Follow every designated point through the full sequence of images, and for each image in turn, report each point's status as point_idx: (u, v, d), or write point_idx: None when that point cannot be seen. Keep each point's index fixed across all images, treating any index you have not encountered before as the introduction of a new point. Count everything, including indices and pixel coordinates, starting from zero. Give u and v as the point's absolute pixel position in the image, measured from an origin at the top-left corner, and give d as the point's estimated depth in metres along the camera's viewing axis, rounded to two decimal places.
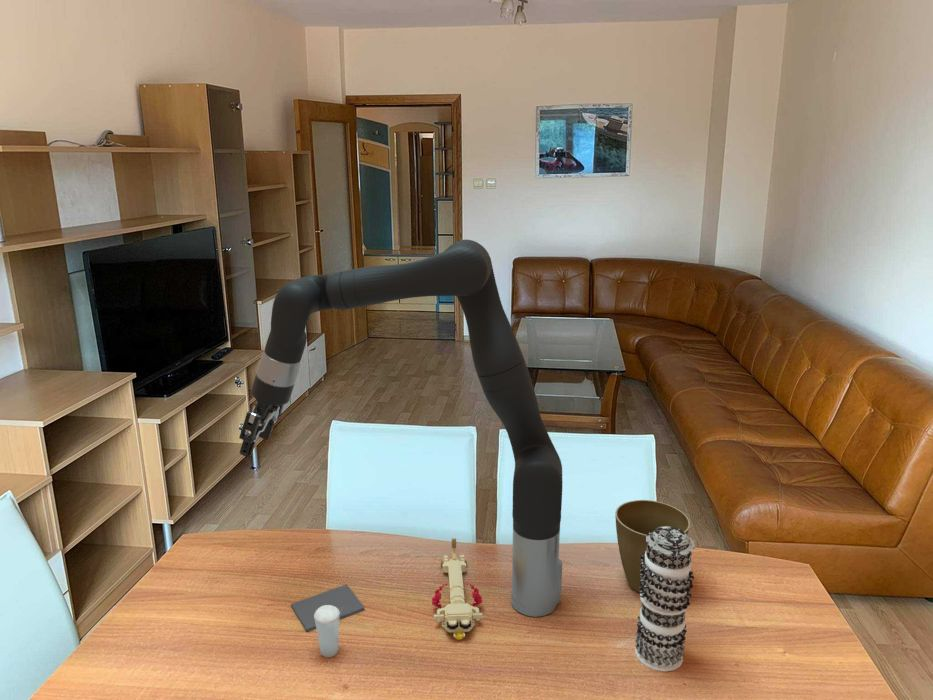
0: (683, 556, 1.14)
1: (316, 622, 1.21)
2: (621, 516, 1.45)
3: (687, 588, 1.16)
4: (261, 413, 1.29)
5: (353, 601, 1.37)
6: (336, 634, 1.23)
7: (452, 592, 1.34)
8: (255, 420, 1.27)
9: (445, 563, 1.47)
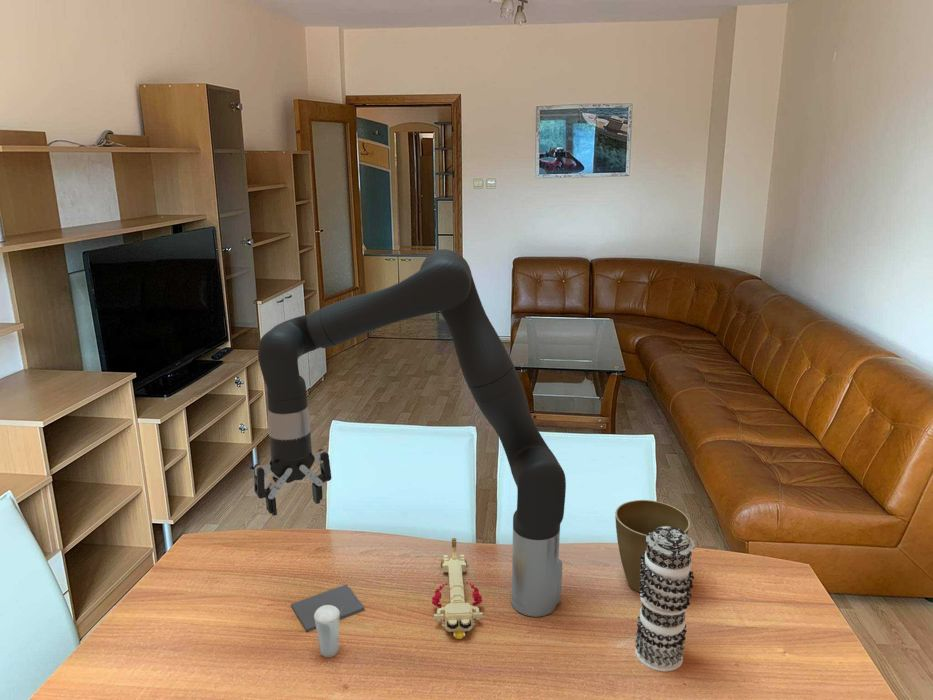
0: (683, 556, 1.14)
1: (316, 622, 1.21)
2: (621, 516, 1.45)
3: (687, 588, 1.16)
4: (271, 468, 1.25)
5: (353, 601, 1.37)
6: (336, 634, 1.23)
7: (452, 591, 1.34)
8: (256, 473, 1.24)
9: (445, 562, 1.47)
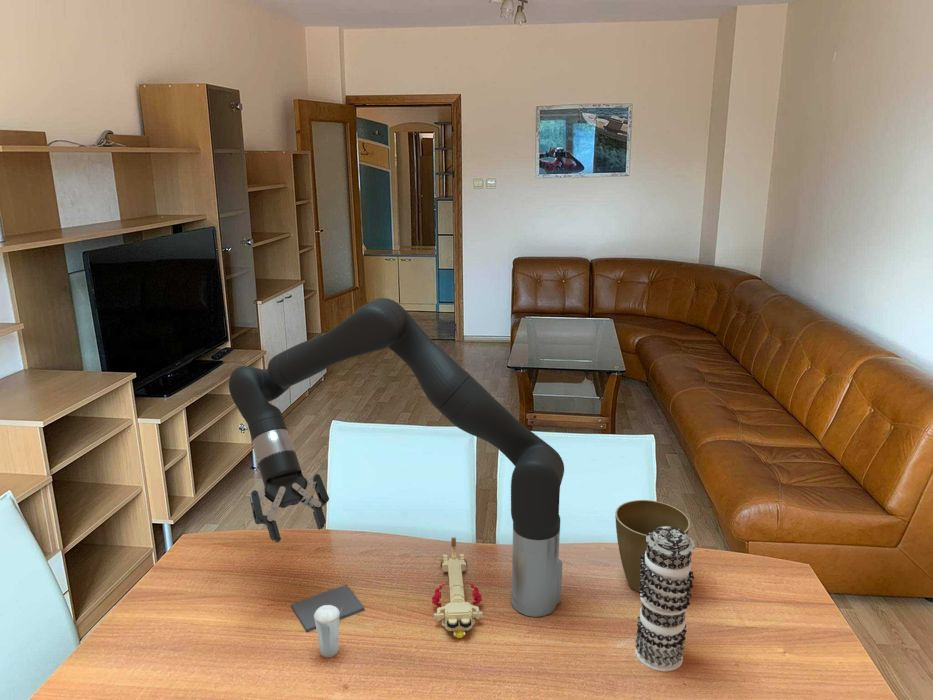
0: (683, 556, 1.14)
1: (316, 622, 1.21)
2: (621, 516, 1.45)
3: (687, 588, 1.16)
4: (265, 491, 1.30)
5: (353, 601, 1.37)
6: (336, 634, 1.23)
7: (452, 591, 1.35)
8: (251, 496, 1.28)
9: (445, 562, 1.47)
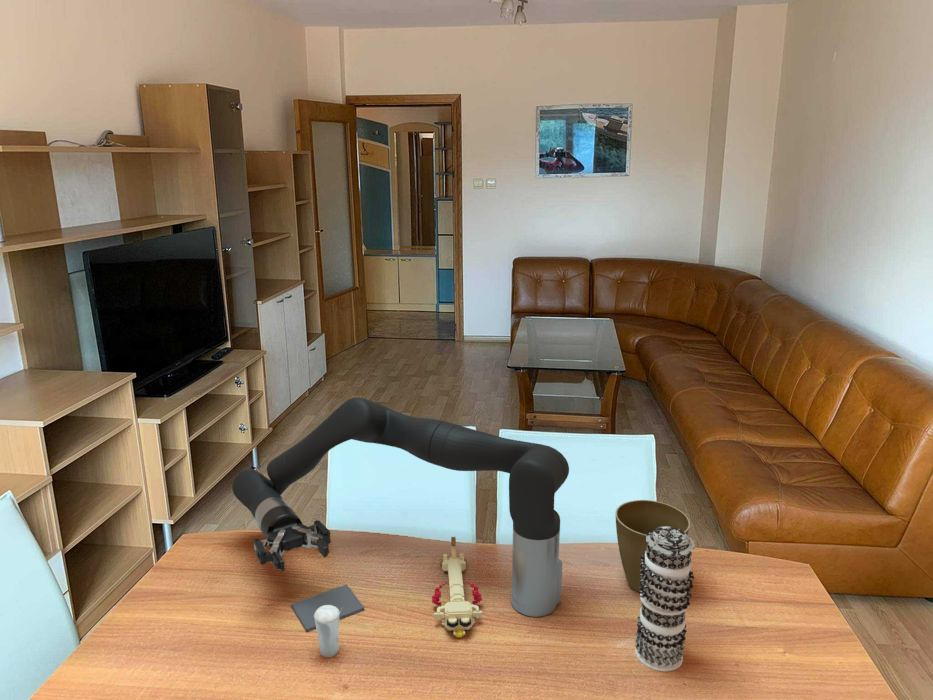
0: (683, 556, 1.14)
1: (316, 622, 1.21)
2: (621, 516, 1.45)
3: (687, 588, 1.16)
4: (267, 539, 1.35)
5: (353, 601, 1.37)
6: (336, 634, 1.23)
7: (452, 590, 1.35)
8: (254, 543, 1.33)
9: (445, 561, 1.48)
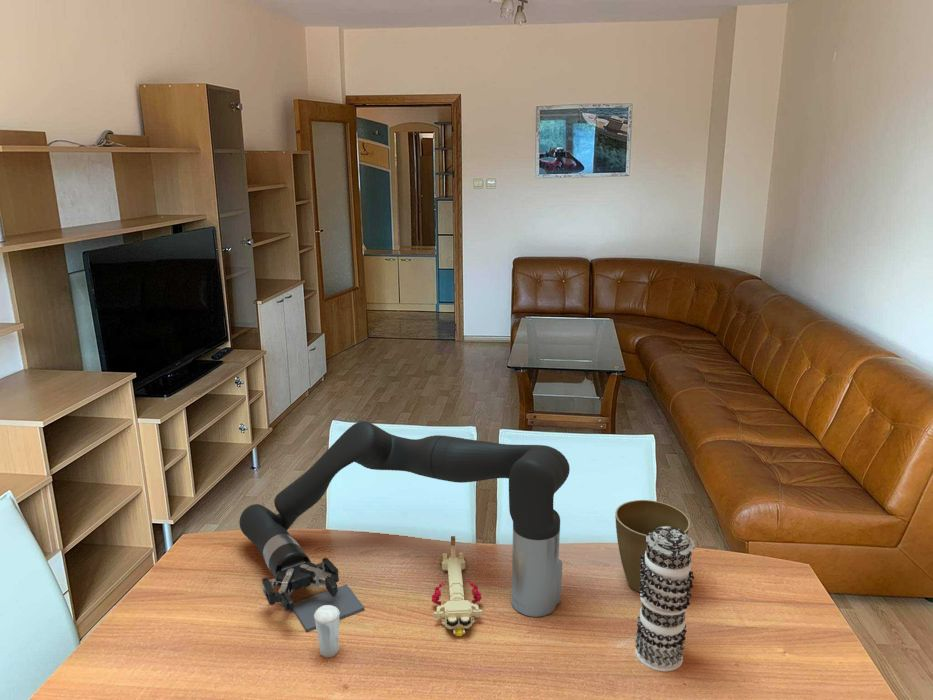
0: (683, 556, 1.14)
1: (316, 622, 1.21)
2: (621, 516, 1.45)
3: (687, 588, 1.16)
4: (275, 578, 1.35)
5: (353, 601, 1.37)
6: (336, 634, 1.23)
7: (452, 589, 1.35)
8: (262, 583, 1.33)
9: (444, 561, 1.48)
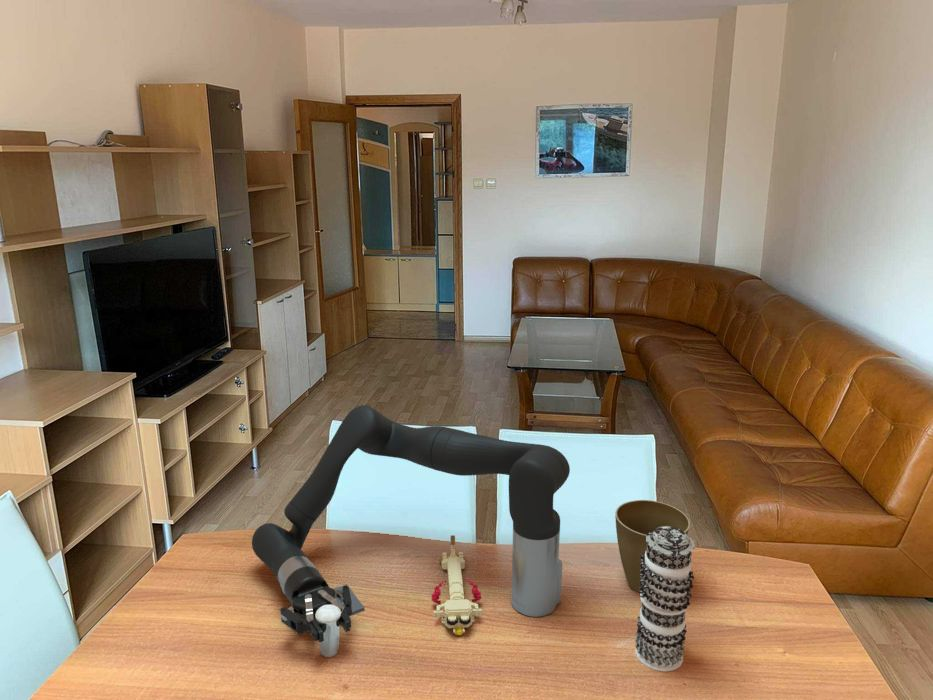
0: (683, 556, 1.14)
1: (317, 621, 1.21)
2: (621, 516, 1.45)
3: (687, 588, 1.16)
4: (292, 606, 1.27)
5: (353, 601, 1.37)
6: (337, 634, 1.23)
7: (451, 588, 1.35)
8: (282, 613, 1.24)
9: (444, 560, 1.48)
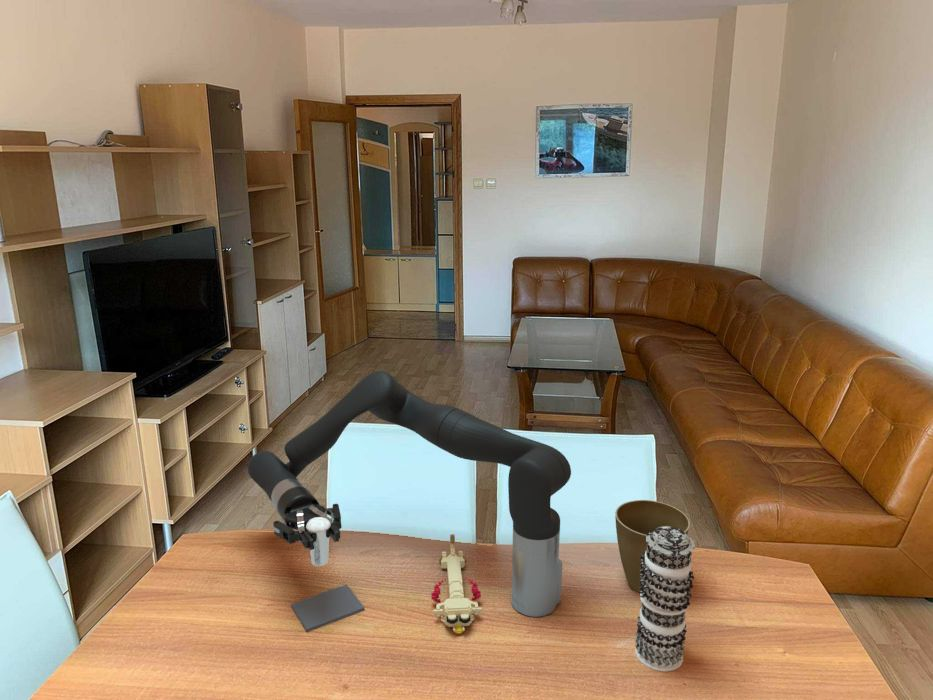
0: (683, 556, 1.14)
1: (308, 531, 1.28)
2: (621, 516, 1.45)
3: (687, 588, 1.16)
4: (285, 520, 1.34)
5: (353, 601, 1.37)
6: (326, 544, 1.30)
7: (451, 587, 1.36)
8: (275, 526, 1.31)
9: (444, 559, 1.49)
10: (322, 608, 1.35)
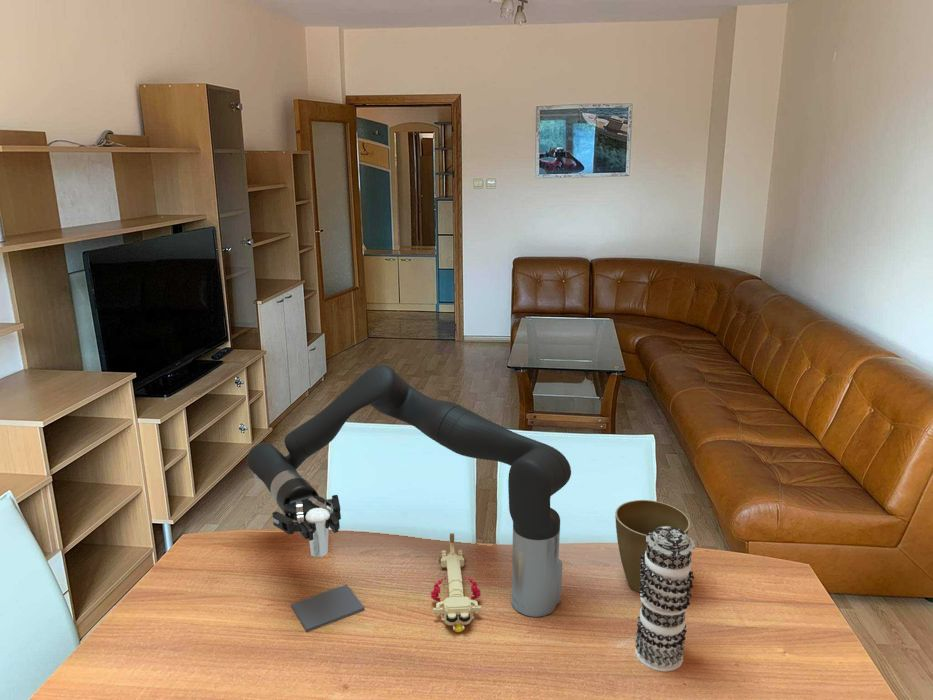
0: (683, 556, 1.14)
1: (307, 522, 1.28)
2: (621, 516, 1.45)
3: (687, 588, 1.16)
4: (284, 511, 1.33)
5: (353, 601, 1.37)
6: (326, 535, 1.29)
7: (451, 586, 1.36)
8: (274, 517, 1.31)
9: (443, 558, 1.49)
10: (322, 608, 1.35)
